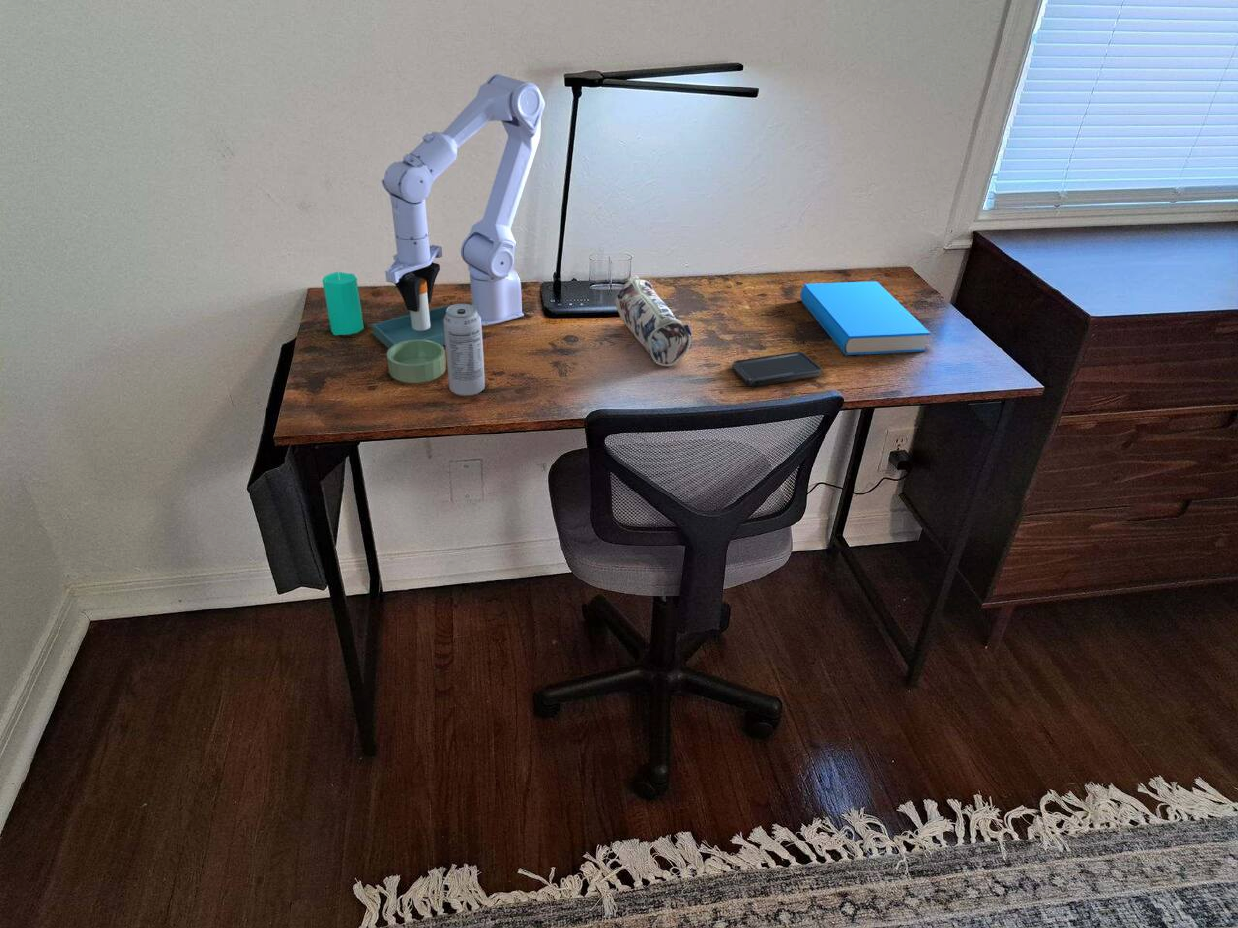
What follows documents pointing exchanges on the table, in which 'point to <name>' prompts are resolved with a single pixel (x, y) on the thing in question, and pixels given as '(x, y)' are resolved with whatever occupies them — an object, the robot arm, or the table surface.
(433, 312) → the tray
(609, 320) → the table surface
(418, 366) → the green round bowl
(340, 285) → the candle
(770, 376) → the phone
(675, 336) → the pencil case
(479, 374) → the energy drink can
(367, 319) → the table surface
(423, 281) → the glue stick
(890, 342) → the book
